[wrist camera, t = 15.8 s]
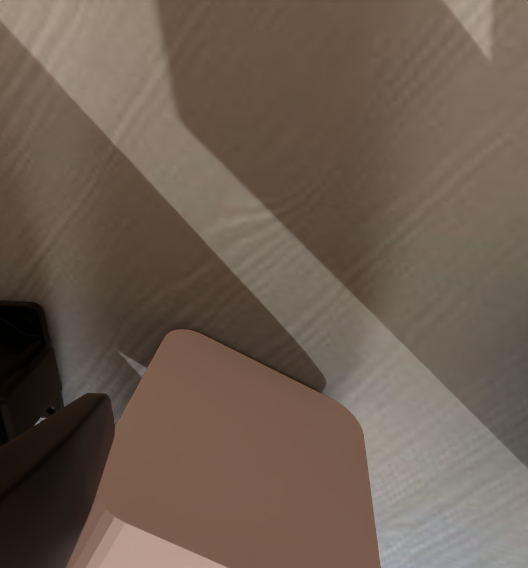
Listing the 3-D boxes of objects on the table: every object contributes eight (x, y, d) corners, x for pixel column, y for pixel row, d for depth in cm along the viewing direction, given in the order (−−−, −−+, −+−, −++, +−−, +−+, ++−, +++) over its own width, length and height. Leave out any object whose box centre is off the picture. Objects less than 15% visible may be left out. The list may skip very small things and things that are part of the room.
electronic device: (137, 390, 24) (29, 590, 15) (173, 320, 22) (74, 500, 13) (312, 473, 25) (310, 704, 16) (360, 413, 23) (389, 638, 14)
